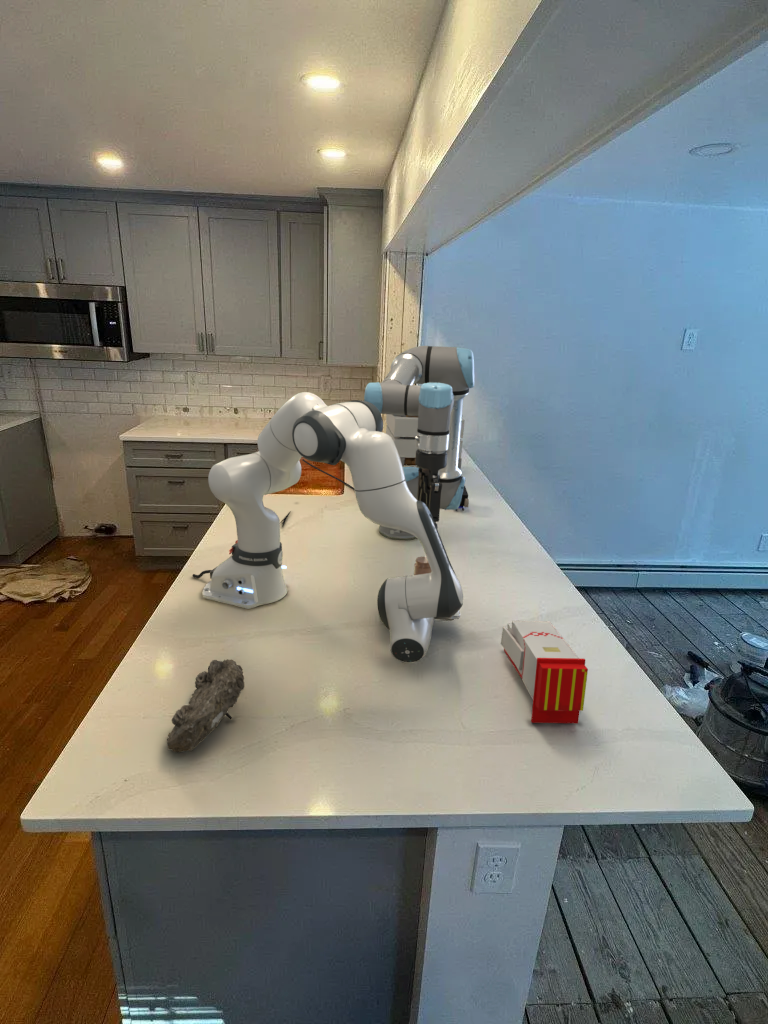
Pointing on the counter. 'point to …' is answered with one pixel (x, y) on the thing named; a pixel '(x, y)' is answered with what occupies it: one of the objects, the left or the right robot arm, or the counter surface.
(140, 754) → the counter surface
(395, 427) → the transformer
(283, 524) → the feather
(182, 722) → the fossil
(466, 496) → the figurine character
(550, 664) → the toy
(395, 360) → the right robot arm
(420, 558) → the jar
